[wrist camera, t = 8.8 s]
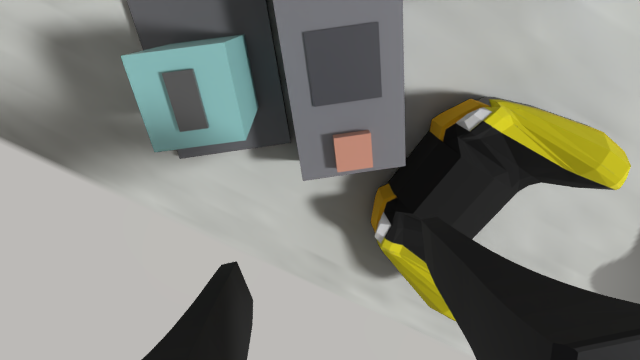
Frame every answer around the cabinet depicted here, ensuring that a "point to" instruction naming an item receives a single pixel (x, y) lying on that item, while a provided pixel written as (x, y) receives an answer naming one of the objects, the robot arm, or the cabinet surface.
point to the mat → (214, 22)
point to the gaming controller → (484, 176)
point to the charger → (194, 92)
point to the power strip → (344, 83)
